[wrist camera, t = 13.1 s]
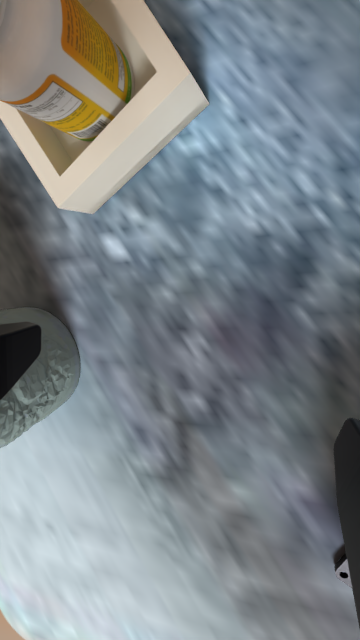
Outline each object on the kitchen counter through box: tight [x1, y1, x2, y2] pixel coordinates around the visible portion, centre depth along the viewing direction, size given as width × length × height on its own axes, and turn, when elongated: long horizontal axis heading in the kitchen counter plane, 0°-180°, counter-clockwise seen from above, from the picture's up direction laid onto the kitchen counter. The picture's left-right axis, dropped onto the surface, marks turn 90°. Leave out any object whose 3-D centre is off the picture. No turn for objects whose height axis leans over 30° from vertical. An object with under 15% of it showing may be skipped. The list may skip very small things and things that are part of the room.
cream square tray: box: [0, 0, 209, 214], centre depth 18 cm, size 10×10×4 cm
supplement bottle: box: [0, 0, 135, 143], centre depth 15 cm, size 5×5×10 cm
